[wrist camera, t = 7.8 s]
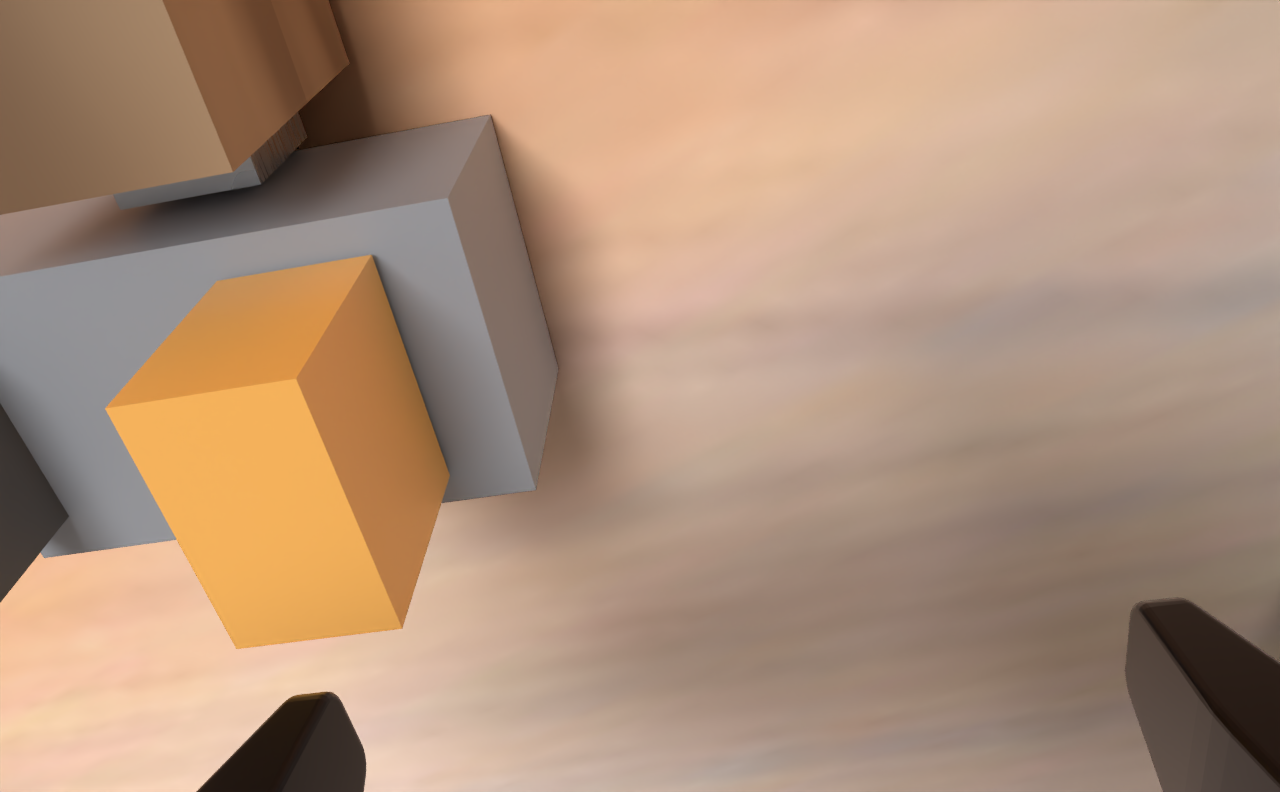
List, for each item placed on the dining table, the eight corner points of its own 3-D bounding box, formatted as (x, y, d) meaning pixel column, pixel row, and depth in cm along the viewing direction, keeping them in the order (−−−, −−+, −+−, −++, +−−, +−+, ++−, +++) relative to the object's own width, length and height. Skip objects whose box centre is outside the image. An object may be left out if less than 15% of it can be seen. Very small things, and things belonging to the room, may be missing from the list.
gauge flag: (372, 254, 15) (295, 378, 12) (449, 475, 17) (402, 628, 14) (216, 280, 15) (105, 408, 12) (312, 495, 17) (237, 648, 14)
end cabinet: (490, 115, 18) (410, 270, 12) (558, 369, 20) (517, 588, 15) (20, 202, 19) (-244, 379, 13) (143, 432, 22) (-36, 658, 16)
